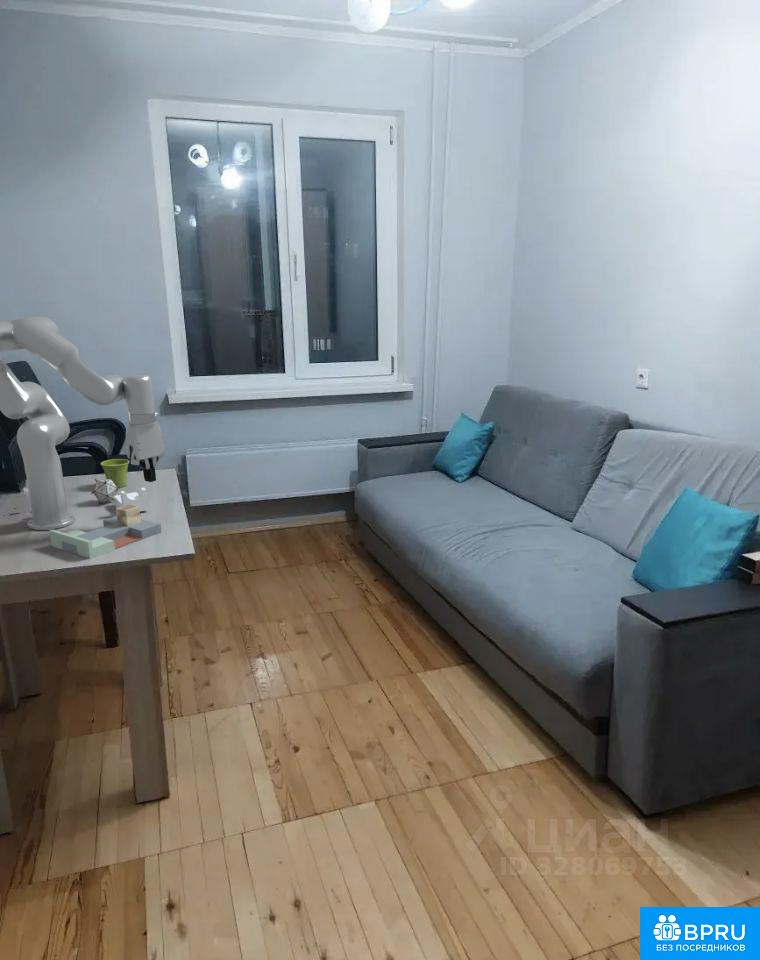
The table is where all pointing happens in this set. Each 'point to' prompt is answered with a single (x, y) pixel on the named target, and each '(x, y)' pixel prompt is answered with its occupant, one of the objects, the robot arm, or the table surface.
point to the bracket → (132, 499)
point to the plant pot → (116, 471)
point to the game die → (105, 490)
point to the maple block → (128, 515)
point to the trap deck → (103, 537)
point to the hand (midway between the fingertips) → (150, 480)
